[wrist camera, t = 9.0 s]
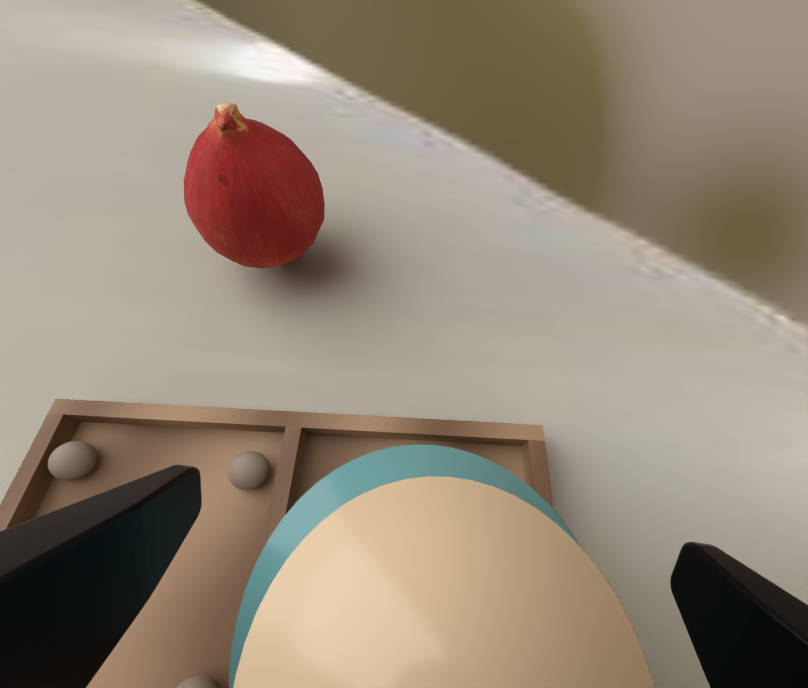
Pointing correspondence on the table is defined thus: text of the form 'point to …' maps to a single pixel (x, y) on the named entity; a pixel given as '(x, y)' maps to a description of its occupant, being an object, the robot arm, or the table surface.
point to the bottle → (429, 586)
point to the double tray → (221, 503)
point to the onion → (252, 191)
